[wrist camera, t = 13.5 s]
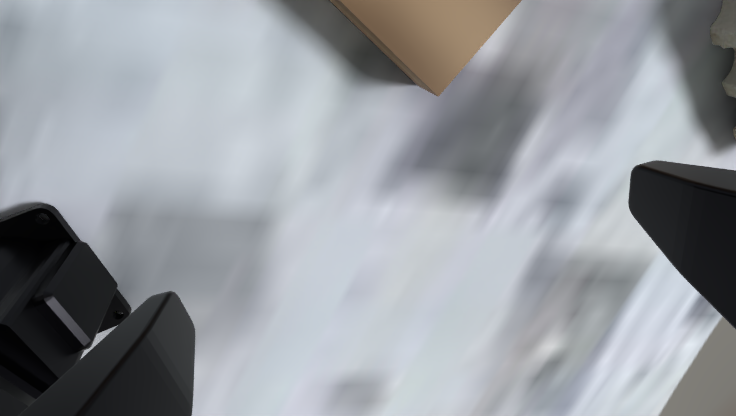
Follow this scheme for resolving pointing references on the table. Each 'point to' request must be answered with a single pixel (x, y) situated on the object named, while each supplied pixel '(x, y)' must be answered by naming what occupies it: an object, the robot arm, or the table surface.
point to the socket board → (428, 33)
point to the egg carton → (726, 41)
